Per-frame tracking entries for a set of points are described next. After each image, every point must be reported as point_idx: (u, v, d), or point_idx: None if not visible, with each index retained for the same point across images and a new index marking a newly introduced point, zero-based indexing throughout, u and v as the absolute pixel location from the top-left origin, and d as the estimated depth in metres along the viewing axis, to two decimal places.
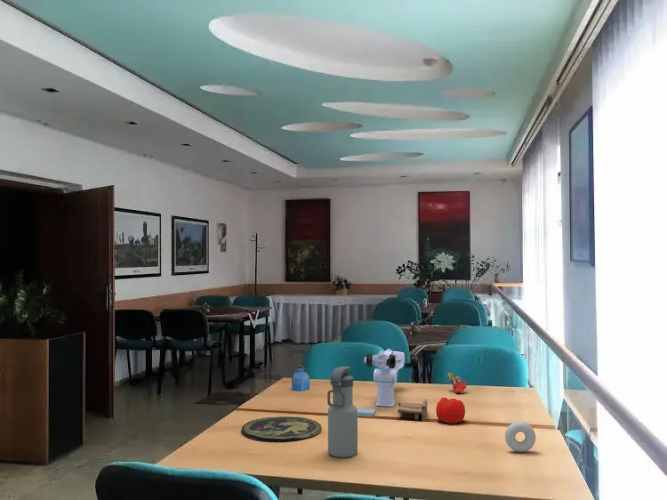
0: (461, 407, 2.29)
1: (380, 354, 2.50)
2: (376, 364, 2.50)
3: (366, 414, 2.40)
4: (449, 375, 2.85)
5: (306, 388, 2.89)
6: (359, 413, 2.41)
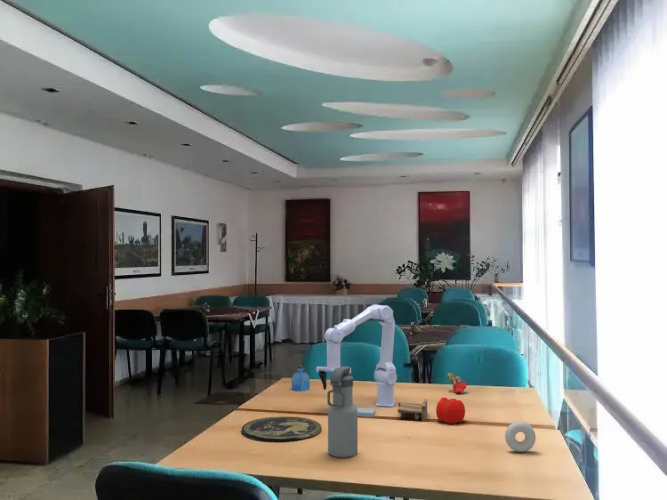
0: (461, 407, 2.29)
1: (331, 370, 2.45)
2: None
3: (366, 414, 2.40)
4: (449, 375, 2.85)
5: (306, 388, 2.89)
6: (359, 413, 2.41)
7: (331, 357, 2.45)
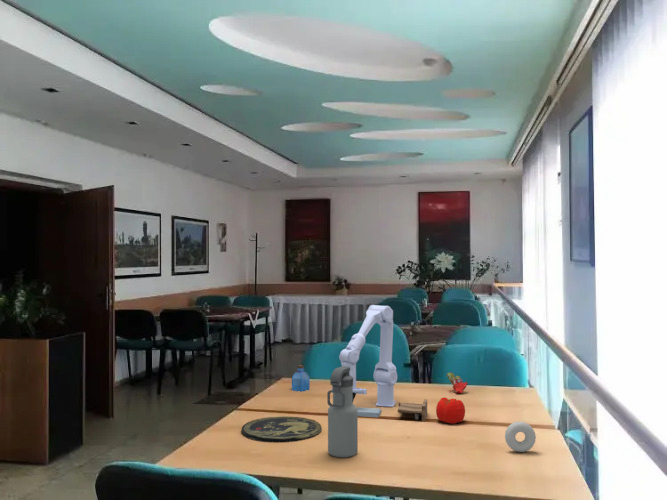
0: (461, 407, 2.29)
1: None
2: None
3: (371, 414, 2.40)
4: (449, 375, 2.85)
5: (306, 388, 2.89)
6: (364, 413, 2.40)
7: None
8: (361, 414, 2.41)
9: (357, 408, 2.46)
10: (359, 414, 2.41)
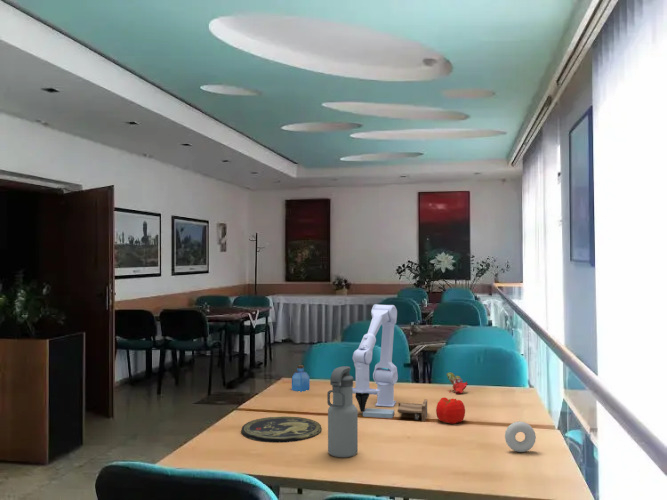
0: (461, 407, 2.29)
1: None
2: None
3: (385, 415, 2.38)
4: (449, 375, 2.85)
5: (306, 388, 2.89)
6: (378, 414, 2.39)
7: (363, 379, 2.42)
8: (375, 415, 2.39)
9: (370, 409, 2.45)
10: (373, 415, 2.39)
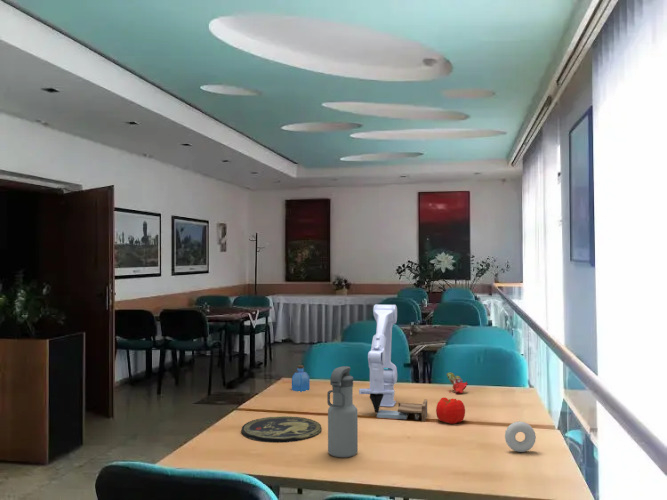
0: (461, 407, 2.29)
1: None
2: None
3: (400, 417, 2.37)
4: (449, 375, 2.85)
5: (306, 388, 2.89)
6: (392, 416, 2.37)
7: (380, 379, 2.41)
8: (389, 417, 2.38)
9: (384, 411, 2.43)
10: (387, 417, 2.38)
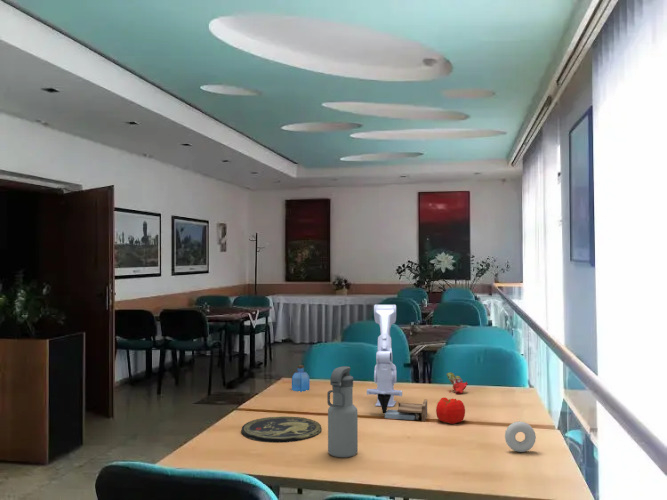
0: (461, 407, 2.29)
1: None
2: None
3: (407, 416, 2.35)
4: (449, 375, 2.85)
5: (306, 388, 2.89)
6: (400, 415, 2.36)
7: (388, 379, 2.40)
8: (397, 417, 2.37)
9: (392, 410, 2.42)
10: (395, 417, 2.37)
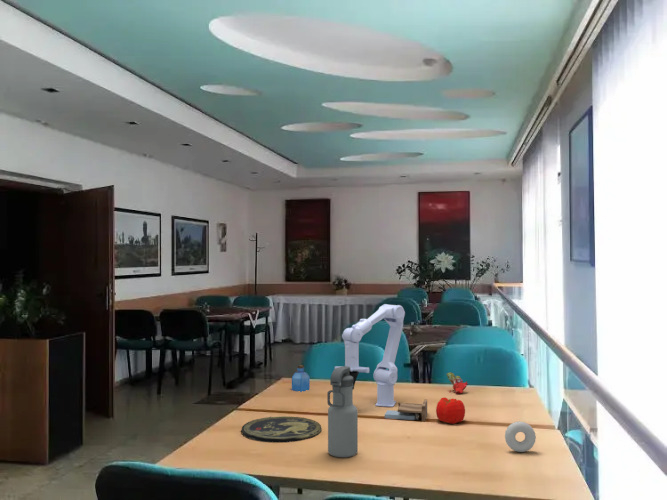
0: (461, 407, 2.29)
1: None
2: None
3: (407, 417, 2.35)
4: (449, 375, 2.85)
5: (306, 388, 2.89)
6: (400, 416, 2.36)
7: (351, 357, 2.46)
8: (397, 417, 2.37)
9: (392, 411, 2.42)
10: (395, 417, 2.37)
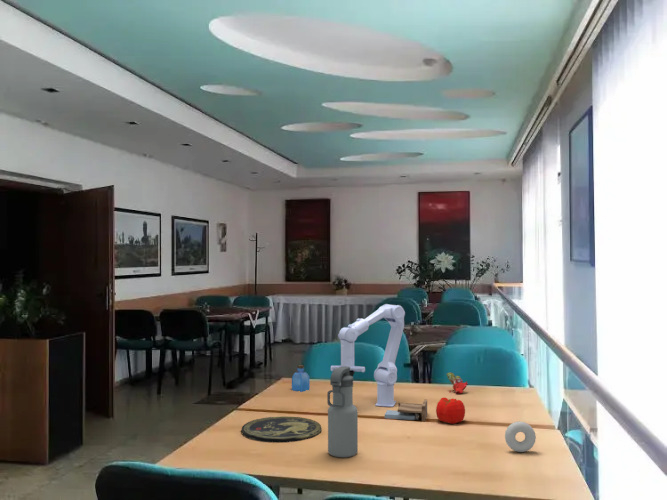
0: (461, 407, 2.29)
1: None
2: None
3: (407, 417, 2.35)
4: (449, 375, 2.85)
5: (306, 388, 2.89)
6: (400, 416, 2.36)
7: (345, 356, 2.48)
8: (397, 417, 2.37)
9: (392, 411, 2.42)
10: (395, 417, 2.37)
